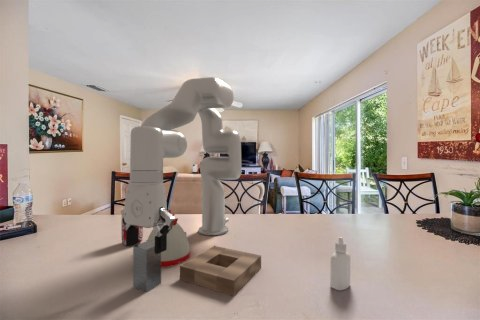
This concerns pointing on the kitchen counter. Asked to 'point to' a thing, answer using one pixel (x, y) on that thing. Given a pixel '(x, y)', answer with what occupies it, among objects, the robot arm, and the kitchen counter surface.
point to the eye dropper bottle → (340, 267)
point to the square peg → (146, 266)
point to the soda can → (140, 233)
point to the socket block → (221, 269)
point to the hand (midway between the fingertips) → (145, 248)
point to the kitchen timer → (173, 245)
